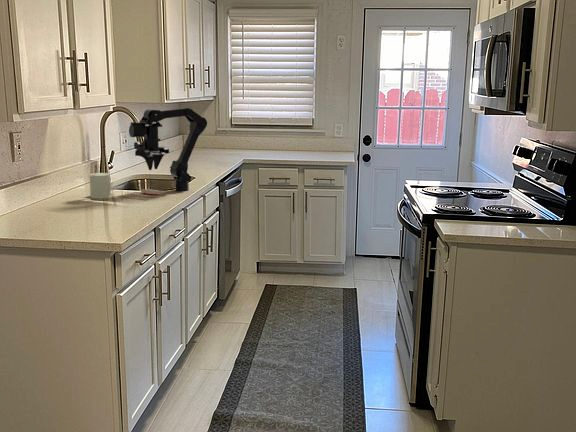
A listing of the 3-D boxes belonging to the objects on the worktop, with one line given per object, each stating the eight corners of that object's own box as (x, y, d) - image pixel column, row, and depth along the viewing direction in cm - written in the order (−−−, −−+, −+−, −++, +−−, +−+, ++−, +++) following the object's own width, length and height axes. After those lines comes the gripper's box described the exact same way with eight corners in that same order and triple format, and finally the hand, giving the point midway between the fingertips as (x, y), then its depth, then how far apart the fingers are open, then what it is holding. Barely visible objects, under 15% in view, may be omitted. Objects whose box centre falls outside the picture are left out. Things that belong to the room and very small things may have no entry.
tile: (140, 192, 275) (152, 193, 284) (154, 194, 272) (166, 194, 280) (141, 189, 275) (153, 189, 284) (154, 190, 272) (166, 191, 280)
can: (86, 199, 266) (84, 173, 264) (103, 196, 273) (102, 171, 271) (98, 201, 261) (96, 175, 258) (115, 199, 268) (114, 173, 265)
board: (136, 194, 280) (136, 192, 280) (166, 197, 273) (166, 195, 272) (114, 199, 267) (114, 196, 267) (146, 203, 259) (146, 200, 259)
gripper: (150, 134, 284) (151, 166, 287) (125, 137, 267) (126, 170, 271) (169, 135, 279) (170, 168, 283) (144, 138, 263) (145, 172, 266)
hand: (153, 169), depth 276 cm, fingers open, 4 cm apart
